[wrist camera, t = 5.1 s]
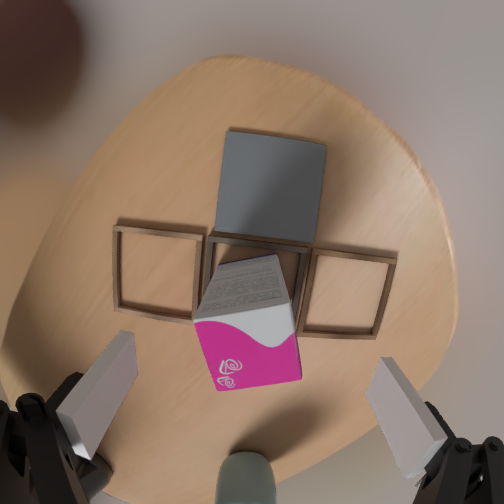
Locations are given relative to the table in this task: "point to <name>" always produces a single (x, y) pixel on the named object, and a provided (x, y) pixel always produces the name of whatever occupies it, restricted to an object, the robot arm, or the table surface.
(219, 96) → the table surface
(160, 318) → the frame
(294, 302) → the frame
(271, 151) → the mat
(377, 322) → the frame
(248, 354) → the supplement box
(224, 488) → the cup
